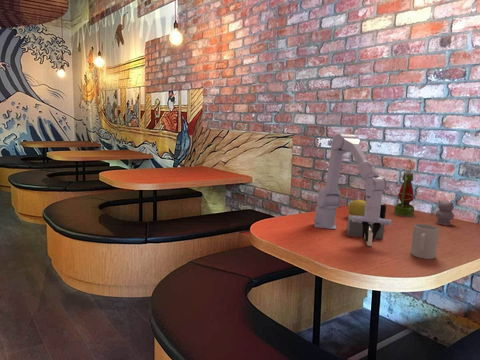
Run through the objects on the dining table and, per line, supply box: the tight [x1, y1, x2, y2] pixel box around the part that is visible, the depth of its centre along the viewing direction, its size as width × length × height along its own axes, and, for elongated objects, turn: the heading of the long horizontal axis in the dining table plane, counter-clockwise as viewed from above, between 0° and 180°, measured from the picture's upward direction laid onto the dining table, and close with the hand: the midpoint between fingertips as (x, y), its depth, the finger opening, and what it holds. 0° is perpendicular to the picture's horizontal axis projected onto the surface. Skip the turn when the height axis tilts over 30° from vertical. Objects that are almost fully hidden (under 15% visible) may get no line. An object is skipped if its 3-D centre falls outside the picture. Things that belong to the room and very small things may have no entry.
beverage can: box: [380, 201, 387, 219], centre depth 183 cm, size 7×7×12 cm
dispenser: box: [346, 214, 385, 240], centre depth 171 cm, size 14×11×7 cm
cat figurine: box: [435, 199, 455, 226], centre depth 200 cm, size 8×8×12 cm
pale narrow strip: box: [363, 226, 373, 247], centre depth 159 cm, size 2×12×6 cm, turn 169°
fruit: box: [347, 199, 366, 216], centre depth 201 cm, size 10×11×10 cm
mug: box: [410, 223, 440, 260], centre depth 144 cm, size 12×8×11 cm
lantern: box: [393, 159, 415, 217], centre depth 217 cm, size 14×11×30 cm
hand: (369, 241), depth 155 cm, fingers closed on pale narrow strip
